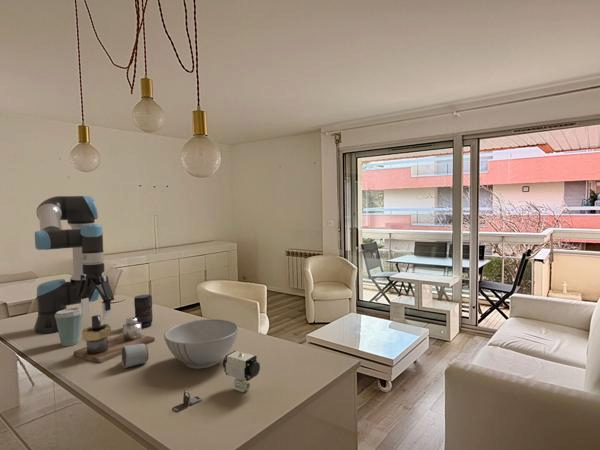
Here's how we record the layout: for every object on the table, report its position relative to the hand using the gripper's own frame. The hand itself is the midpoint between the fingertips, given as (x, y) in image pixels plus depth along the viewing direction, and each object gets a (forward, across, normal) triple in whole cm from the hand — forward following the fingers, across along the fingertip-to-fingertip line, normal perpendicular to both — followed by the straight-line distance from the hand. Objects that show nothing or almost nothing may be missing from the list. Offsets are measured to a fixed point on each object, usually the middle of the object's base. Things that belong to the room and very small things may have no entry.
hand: (96, 316), depth 146 cm
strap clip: (+17, +60, -11) cm, 63 cm away
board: (+15, 0, +8) cm, 17 cm away
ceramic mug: (+16, +20, +1) cm, 26 cm away
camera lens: (+15, -13, +33) cm, 39 cm away
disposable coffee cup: (+15, -23, +3) cm, 28 cm away
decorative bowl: (+16, +43, +14) cm, 48 cm away
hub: (+14, 0, +16) cm, 21 cm away
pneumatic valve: (+16, +68, +3) cm, 71 cm away
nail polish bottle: (+14, 0, 0) cm, 14 cm away
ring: (+8, 0, 0) cm, 8 cm away
